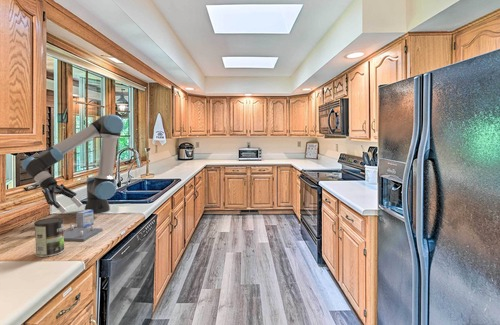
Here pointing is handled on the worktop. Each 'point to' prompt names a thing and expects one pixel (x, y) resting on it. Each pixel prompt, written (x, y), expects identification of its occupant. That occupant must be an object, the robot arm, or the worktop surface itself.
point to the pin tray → (80, 233)
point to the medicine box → (84, 218)
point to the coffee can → (49, 237)
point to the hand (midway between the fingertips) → (72, 208)
